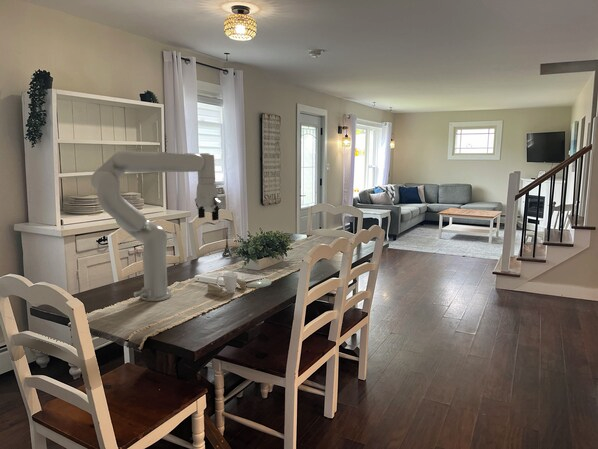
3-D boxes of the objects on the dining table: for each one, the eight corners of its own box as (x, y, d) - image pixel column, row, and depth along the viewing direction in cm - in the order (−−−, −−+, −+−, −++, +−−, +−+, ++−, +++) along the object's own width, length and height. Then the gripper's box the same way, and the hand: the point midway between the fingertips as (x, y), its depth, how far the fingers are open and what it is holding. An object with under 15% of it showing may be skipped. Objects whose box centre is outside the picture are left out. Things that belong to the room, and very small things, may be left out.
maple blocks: (220, 297, 196) (220, 288, 195) (207, 292, 202) (207, 283, 201) (246, 289, 207) (246, 281, 206) (233, 285, 213) (233, 276, 212)
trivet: (255, 289, 207) (255, 288, 206) (235, 283, 216) (235, 282, 216) (277, 283, 217) (277, 281, 217) (257, 277, 226) (257, 275, 226)
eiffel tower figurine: (227, 260, 259) (227, 237, 257) (213, 258, 263) (212, 235, 261) (241, 254, 272) (241, 232, 270) (227, 252, 277) (227, 231, 274)
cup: (235, 294, 200) (234, 276, 199) (213, 292, 202) (213, 275, 201) (240, 289, 207) (240, 272, 206) (219, 287, 209) (219, 270, 207)
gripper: (187, 180, 205) (189, 218, 208) (212, 183, 194) (214, 222, 198) (201, 179, 211) (203, 215, 214) (225, 181, 200) (227, 219, 203)
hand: (208, 218), depth 206 cm, fingers open, 9 cm apart
